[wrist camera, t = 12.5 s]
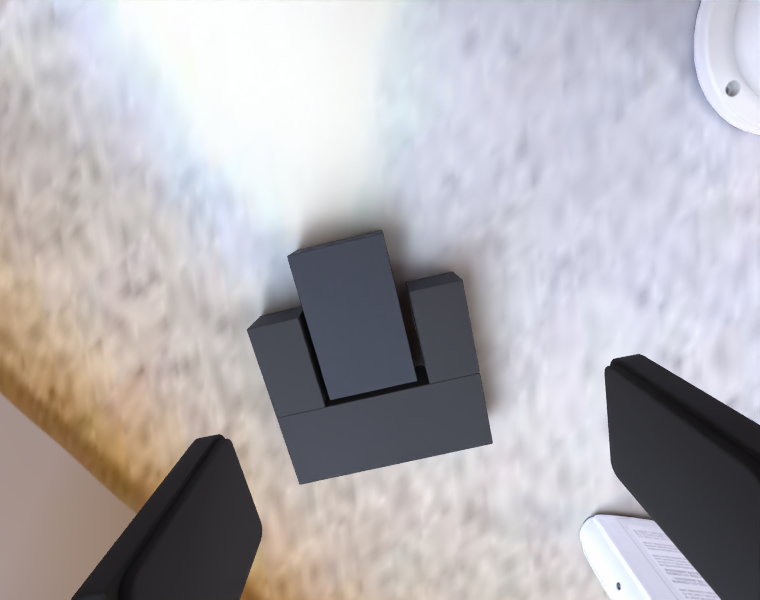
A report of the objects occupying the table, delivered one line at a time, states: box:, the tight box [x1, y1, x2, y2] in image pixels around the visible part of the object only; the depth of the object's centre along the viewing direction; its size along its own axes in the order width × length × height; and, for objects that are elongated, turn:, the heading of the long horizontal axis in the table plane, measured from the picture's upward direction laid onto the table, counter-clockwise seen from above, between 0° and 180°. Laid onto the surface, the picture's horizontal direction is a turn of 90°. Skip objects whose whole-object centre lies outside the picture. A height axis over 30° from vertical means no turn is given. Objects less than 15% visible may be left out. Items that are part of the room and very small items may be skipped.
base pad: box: [247, 272, 493, 485], centre depth 27 cm, size 12×14×3 cm
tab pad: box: [287, 230, 417, 400], centre depth 25 cm, size 10×6×3 cm, turn 13°
